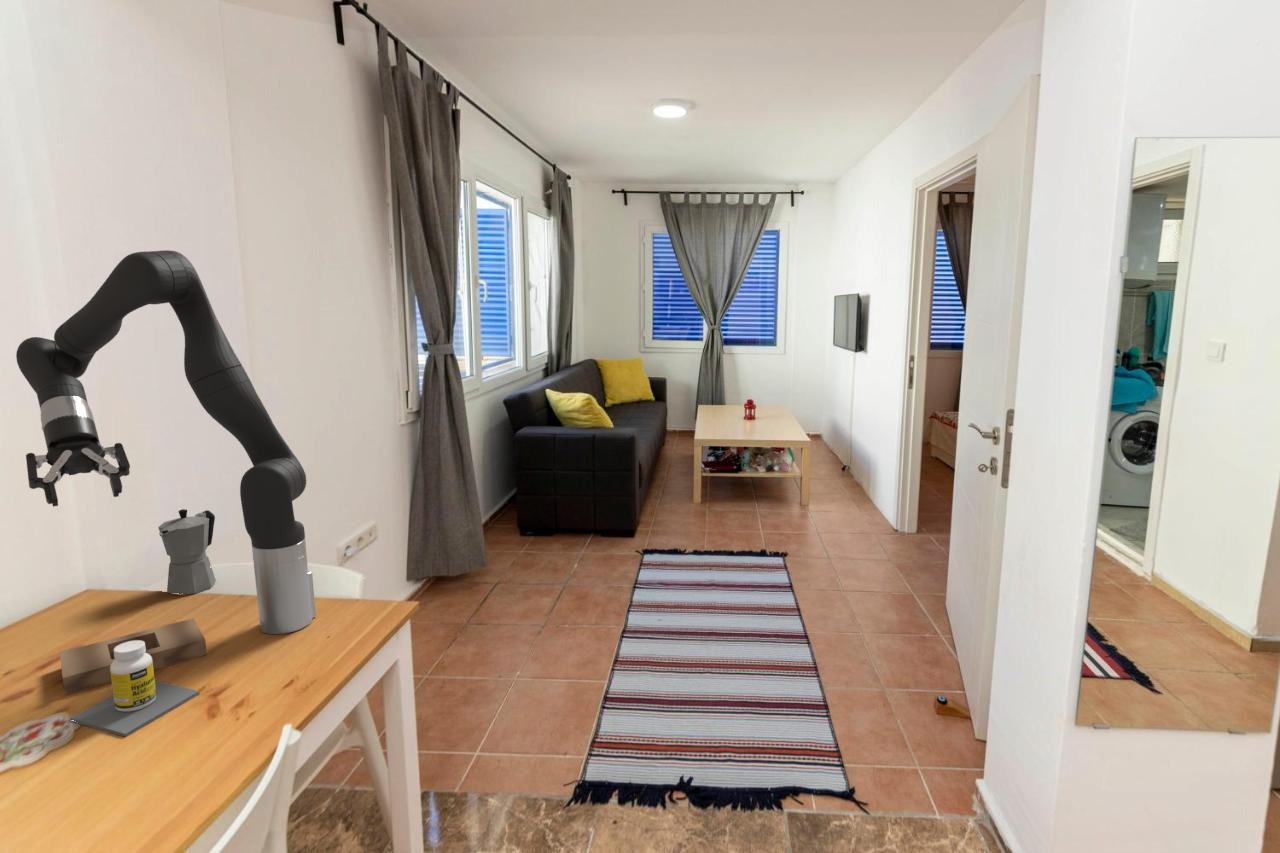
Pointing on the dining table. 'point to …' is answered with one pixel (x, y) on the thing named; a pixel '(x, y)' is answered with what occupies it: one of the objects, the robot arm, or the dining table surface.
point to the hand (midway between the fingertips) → (86, 499)
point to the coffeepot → (188, 552)
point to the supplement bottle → (132, 677)
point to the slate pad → (129, 722)
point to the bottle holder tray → (95, 659)
